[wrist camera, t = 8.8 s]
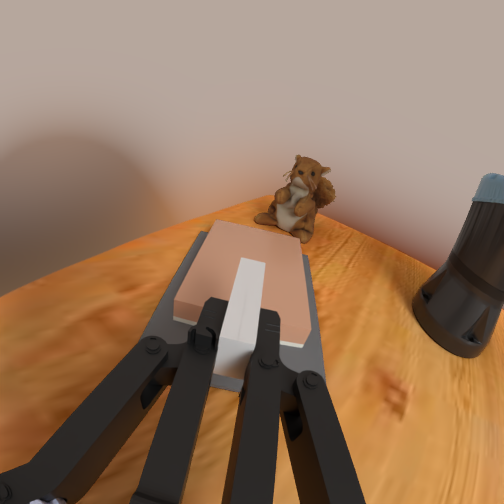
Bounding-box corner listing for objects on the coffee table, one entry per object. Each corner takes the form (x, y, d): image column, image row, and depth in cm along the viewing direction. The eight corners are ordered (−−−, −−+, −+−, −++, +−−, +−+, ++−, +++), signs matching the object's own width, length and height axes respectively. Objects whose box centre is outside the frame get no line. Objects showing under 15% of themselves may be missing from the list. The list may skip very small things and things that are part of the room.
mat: (325, 403, 19) (327, 401, 19) (129, 362, 19) (129, 359, 18) (306, 257, 40) (307, 255, 40) (200, 233, 40) (201, 230, 39)
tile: (311, 329, 22) (299, 238, 38) (173, 299, 22) (216, 219, 38) (302, 347, 24) (294, 253, 39) (173, 320, 23) (213, 234, 39)
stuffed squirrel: (249, 223, 47) (266, 148, 40) (288, 209, 57) (304, 150, 51) (299, 248, 42) (324, 167, 36) (330, 228, 53) (350, 166, 47)
